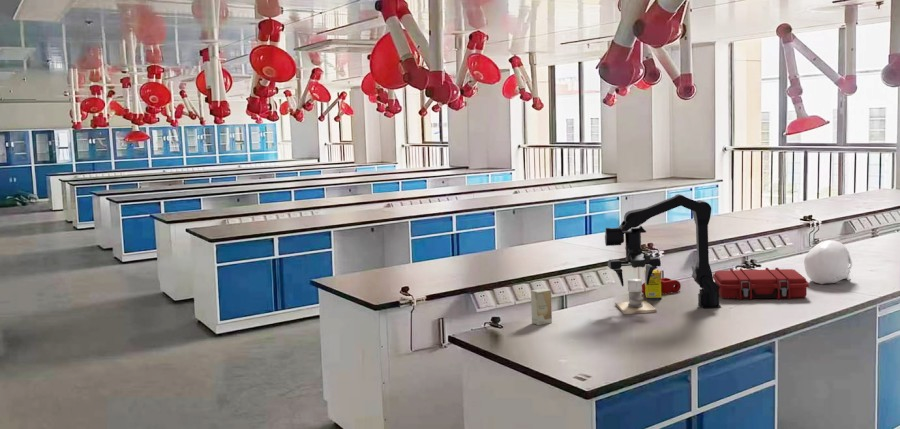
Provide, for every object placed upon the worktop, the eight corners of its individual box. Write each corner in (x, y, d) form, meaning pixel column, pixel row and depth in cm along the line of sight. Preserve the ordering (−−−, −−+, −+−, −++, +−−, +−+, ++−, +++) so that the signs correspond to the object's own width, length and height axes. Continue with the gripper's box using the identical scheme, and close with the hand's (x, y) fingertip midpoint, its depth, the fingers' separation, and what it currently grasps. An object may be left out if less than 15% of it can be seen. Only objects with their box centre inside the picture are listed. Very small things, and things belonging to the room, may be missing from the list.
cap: (640, 288, 280) (639, 278, 280) (643, 291, 275) (643, 281, 274) (626, 289, 280) (626, 279, 280) (629, 292, 275) (629, 282, 274)
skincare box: (538, 325, 263) (536, 292, 262) (531, 323, 267) (529, 290, 266) (553, 322, 266) (551, 289, 265) (546, 320, 270) (544, 287, 269)
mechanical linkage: (669, 288, 308) (669, 277, 308) (680, 291, 302) (680, 279, 301) (637, 293, 303) (637, 282, 302) (648, 297, 296) (647, 284, 296)
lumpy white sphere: (864, 269, 306) (852, 230, 295) (848, 304, 296) (835, 266, 286) (824, 265, 317) (811, 228, 307) (808, 299, 308) (794, 262, 298)
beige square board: (646, 303, 285) (645, 285, 285) (656, 312, 271) (656, 293, 271) (615, 305, 285) (614, 287, 285) (624, 314, 272) (623, 295, 271)
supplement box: (661, 299, 290) (661, 272, 289) (646, 299, 291) (645, 272, 290) (660, 296, 296) (659, 269, 294) (645, 296, 297) (644, 269, 296)
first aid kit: (795, 287, 298) (795, 266, 297) (810, 300, 275) (810, 278, 274) (712, 288, 305) (711, 268, 304) (720, 301, 282) (720, 279, 281)
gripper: (613, 249, 268) (615, 291, 269) (664, 246, 268) (665, 288, 269) (606, 245, 279) (608, 285, 281) (655, 241, 279) (657, 282, 280)
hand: (634, 285), depth 277 cm, fingers open, 9 cm apart
